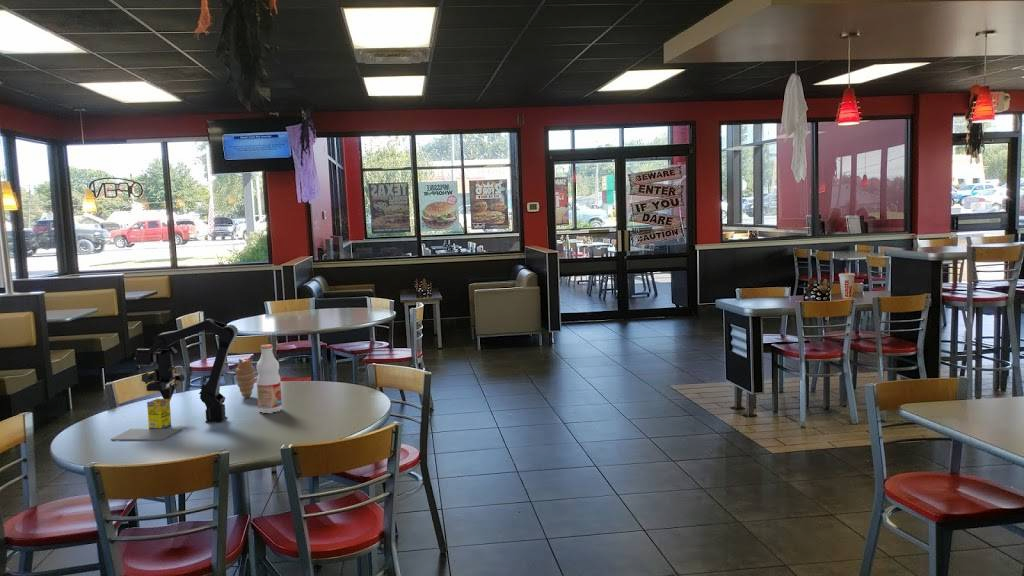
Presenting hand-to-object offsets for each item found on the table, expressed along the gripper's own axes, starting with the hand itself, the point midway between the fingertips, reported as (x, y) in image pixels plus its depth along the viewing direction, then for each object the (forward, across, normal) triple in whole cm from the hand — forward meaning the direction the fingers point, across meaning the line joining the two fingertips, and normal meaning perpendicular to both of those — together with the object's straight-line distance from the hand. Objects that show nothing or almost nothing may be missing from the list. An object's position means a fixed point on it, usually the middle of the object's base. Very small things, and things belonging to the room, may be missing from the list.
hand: (167, 403), depth 302 cm
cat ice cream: (+8, -41, +15) cm, 44 cm away
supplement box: (+8, +6, 0) cm, 11 cm away
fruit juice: (+8, -18, +35) cm, 40 cm away
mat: (+8, +16, 0) cm, 18 cm away
